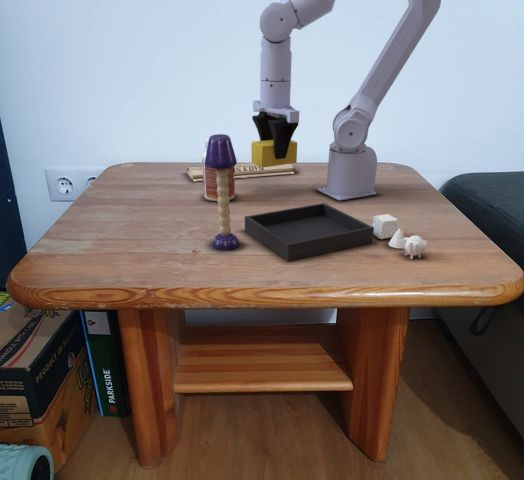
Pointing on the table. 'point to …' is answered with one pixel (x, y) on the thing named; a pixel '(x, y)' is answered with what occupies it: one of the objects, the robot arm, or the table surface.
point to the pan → (308, 231)
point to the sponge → (272, 154)
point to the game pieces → (397, 235)
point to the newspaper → (246, 171)
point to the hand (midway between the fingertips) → (274, 155)
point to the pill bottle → (211, 177)
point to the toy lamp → (222, 186)
